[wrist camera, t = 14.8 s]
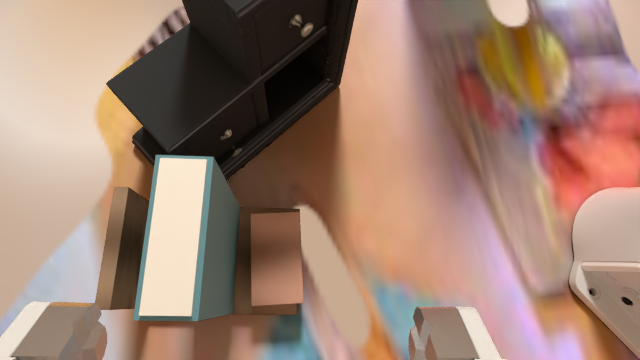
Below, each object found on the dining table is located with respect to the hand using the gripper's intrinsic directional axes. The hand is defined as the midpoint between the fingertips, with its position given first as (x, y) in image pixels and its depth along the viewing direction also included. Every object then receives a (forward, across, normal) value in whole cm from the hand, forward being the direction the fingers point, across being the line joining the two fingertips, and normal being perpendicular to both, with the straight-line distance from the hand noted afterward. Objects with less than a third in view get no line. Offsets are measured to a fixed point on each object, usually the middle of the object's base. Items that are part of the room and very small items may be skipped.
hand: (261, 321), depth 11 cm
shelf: (+27, +7, +20) cm, 34 cm away
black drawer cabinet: (+39, +6, +8) cm, 41 cm away
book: (+26, +7, +19) cm, 33 cm away
